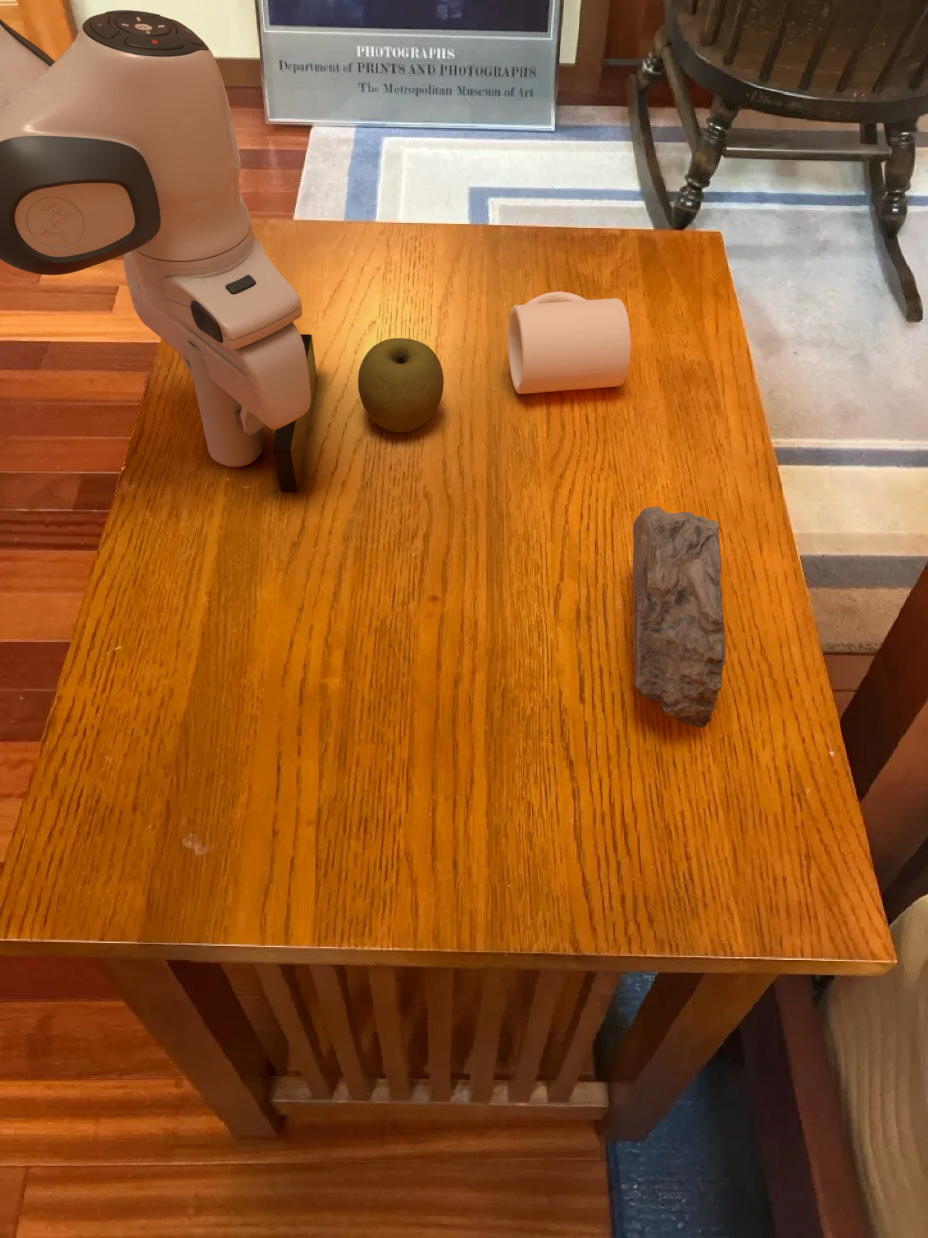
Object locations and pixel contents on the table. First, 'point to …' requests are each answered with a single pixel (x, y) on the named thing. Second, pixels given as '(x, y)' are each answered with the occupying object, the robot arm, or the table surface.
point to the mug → (568, 343)
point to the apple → (400, 384)
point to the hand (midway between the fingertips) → (231, 410)
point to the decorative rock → (678, 613)
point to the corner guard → (295, 434)
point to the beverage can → (221, 418)
